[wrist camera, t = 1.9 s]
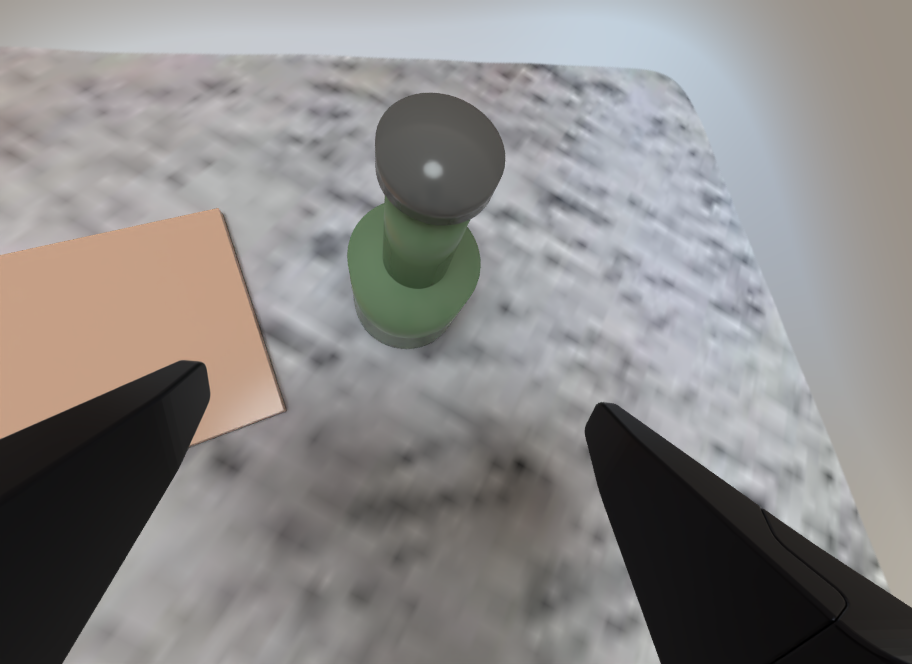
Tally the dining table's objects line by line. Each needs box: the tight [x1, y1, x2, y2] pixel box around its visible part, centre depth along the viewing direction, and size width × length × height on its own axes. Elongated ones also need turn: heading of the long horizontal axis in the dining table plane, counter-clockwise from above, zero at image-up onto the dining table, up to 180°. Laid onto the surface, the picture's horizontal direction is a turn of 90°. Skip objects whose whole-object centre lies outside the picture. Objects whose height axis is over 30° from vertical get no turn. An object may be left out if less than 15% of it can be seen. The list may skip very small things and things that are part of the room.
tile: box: [0, 208, 286, 447], centre depth 19 cm, size 12×12×1 cm
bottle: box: [347, 93, 505, 349], centre depth 16 cm, size 6×6×13 cm
